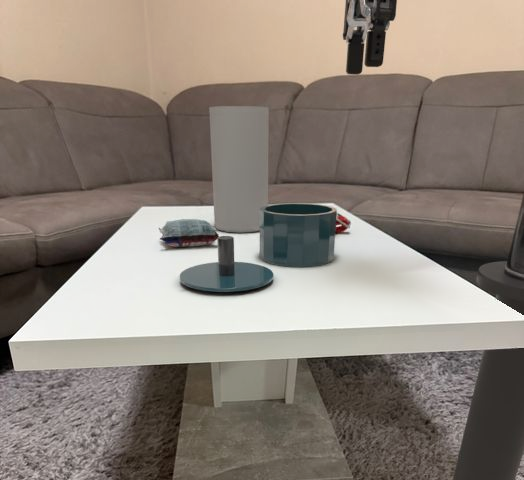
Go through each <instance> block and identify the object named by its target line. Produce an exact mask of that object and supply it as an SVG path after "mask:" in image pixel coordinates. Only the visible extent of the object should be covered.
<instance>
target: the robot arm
mask: <svg viewBox="0 0 524 480" xmlns="http://www.w3.org/2000/svg"><path fill="white" fill-rule="evenodd" d="M397 4H398V0H345V4H344V5H345V7H344V19H343V30H342V31H343V32H342V39H343V41H345V42H346V44H347V50H346V65H345V67H346V68H345V73H346V74H347V75H355V76H356V75H360V74H362V72H363V66H365V67H366V68H380V67H381V66H383V64H384V56H385V47H386V35H387V31H388V30H389V28H390V24H391V22H394V21H395V19H396V16H397ZM355 28H356V29H355ZM364 52H365V53H364ZM506 261H507V264H506V265H505V269H504V272H505V273H506V274H507V275H509V276H511V277H513V278H516V279H519V280H523V281H524V192H523V193H522V198H521V202H520V207H519V210H518V215H517V219H516V222H515V226H514V231H513V235H512V239H511V243H510V248H509V252H508V255H507V260H506Z"/></svg>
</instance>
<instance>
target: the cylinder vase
mask: <svg viewBox="0 0 524 480" xmlns="http://www.w3.org/2000/svg"><path fill="white" fill-rule="evenodd" d="M208 111H209V129H210V131H209V132H210V153H211V154H210V155H211V175H212V176H211V177H212V195H213V197H212V198H213V200H212V201H213V219H214V228H216V230H217V231H221V232H226V233H237V234H238V233H239V234H241V233H242V234H243V233H244V234H245V233H246V234H247V233H256V232H260V208H261V207H263V206H267V205H269V152H270V151H269V147H270V146H269V142H270V141H269V139H270V138H269V136H270V135H269V132H270V129H269V124H270V123H269V122H270V119H269V117H270V116H269V115H270V108H269V106H257V105H256V106H255V105H253V106H252V105H223V106H221V105H219V106H209V107H208Z"/></svg>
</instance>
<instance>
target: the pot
mask: <svg viewBox="0 0 524 480" xmlns="http://www.w3.org/2000/svg"><path fill="white" fill-rule="evenodd" d="M337 209H338V208H337V207H333V206H331V205H325V204H319V203H309V202H308V203H307V202H305V203H303V202H299V203H298V202H291V203H289V202H288V203H287V202H286V203H285V202H284V203H274V204H268V205H267V206H263V207H261V208H260V231H259V258H260V260H261V261H262V262H265V263H268V264H270V265H274V266H278V267H279V266H280V267H288V268H289V267H290V268H309V267H317V266H322V265H323V266H324V265H326V264H329V263H331V262H332V261H333V260H334V256H335V245H336V244H335V243H336V233H335V230H336V227H337V225H336V216H337V213H338V210H337Z"/></svg>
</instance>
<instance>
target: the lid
mask: <svg viewBox="0 0 524 480" xmlns="http://www.w3.org/2000/svg"><path fill="white" fill-rule="evenodd" d="M216 241H217V260H218V261H216V262H206V263H201V264H197V265H193V266H189V267H188V268H185V269H184V270H183V271H181V272H180V273H179V281H180V283H181V284H182V285H184V286H185V287H188V288H190V289H194V290H198V291H205V292H215V293H232V292H233V293H234V292H242V291H249V290H254V289H258V288H261V287H264V286H266V285H269V284H270V283H271V282H272V281H273V279H274V272H273V270H272V269H270V268H269V267H266V266H264V265H260V264H257V263H251V262H245V261H243V262H242V261H235V237H234V236H233V235H231V236H230V235H219V237H218V238H217V240H216Z"/></svg>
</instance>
